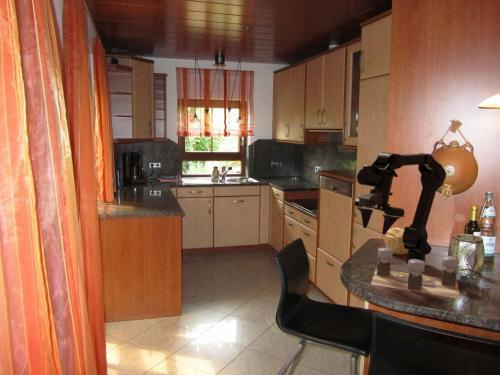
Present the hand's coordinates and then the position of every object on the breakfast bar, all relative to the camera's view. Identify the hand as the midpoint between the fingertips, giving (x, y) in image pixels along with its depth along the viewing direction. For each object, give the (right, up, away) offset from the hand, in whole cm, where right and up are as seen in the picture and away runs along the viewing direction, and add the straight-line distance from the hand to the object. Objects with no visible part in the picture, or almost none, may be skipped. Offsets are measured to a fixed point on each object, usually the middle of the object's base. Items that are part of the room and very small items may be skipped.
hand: (373, 231), depth 151 cm
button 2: (+23, -14, -7) cm, 28 cm away
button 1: (+4, -12, 0) cm, 12 cm away
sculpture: (+19, -12, +31) cm, 39 cm away
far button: (+10, -14, -12) cm, 21 cm away
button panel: (+12, -18, -7) cm, 23 cm away
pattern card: (+12, -17, -6) cm, 21 cm away
